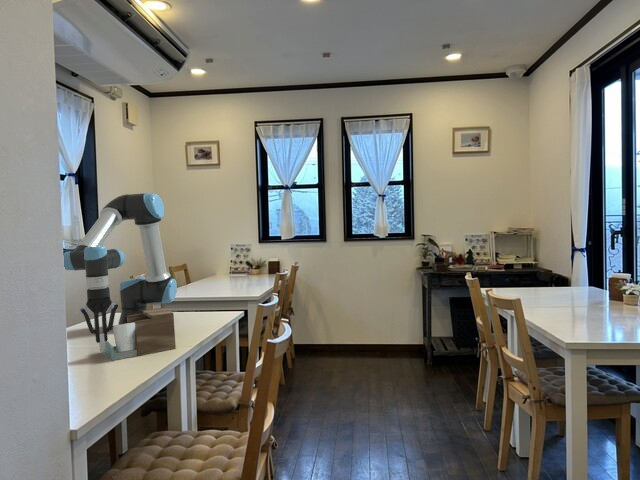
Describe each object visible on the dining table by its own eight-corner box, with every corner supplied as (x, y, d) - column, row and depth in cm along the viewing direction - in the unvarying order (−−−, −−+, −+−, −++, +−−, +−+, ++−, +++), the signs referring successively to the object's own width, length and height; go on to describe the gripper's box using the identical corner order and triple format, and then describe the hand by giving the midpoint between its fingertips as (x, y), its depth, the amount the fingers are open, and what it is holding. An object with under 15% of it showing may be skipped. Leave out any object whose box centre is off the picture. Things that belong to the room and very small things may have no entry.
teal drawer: (104, 353, 176) (104, 340, 176) (141, 346, 184) (140, 333, 184) (111, 361, 165) (110, 347, 164) (150, 353, 172) (149, 340, 172)
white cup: (129, 350, 167) (126, 323, 168) (110, 353, 169) (107, 326, 170) (142, 347, 175) (139, 321, 176) (124, 350, 176) (121, 324, 178)
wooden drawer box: (129, 348, 182) (126, 312, 181) (164, 341, 190) (162, 307, 189) (138, 356, 169) (135, 318, 169) (175, 348, 177) (173, 312, 177)
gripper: (79, 291, 162) (84, 356, 163) (118, 286, 169) (123, 349, 170) (76, 288, 168) (81, 351, 169) (115, 284, 175) (119, 345, 176)
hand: (102, 350), depth 169 cm, fingers closed
